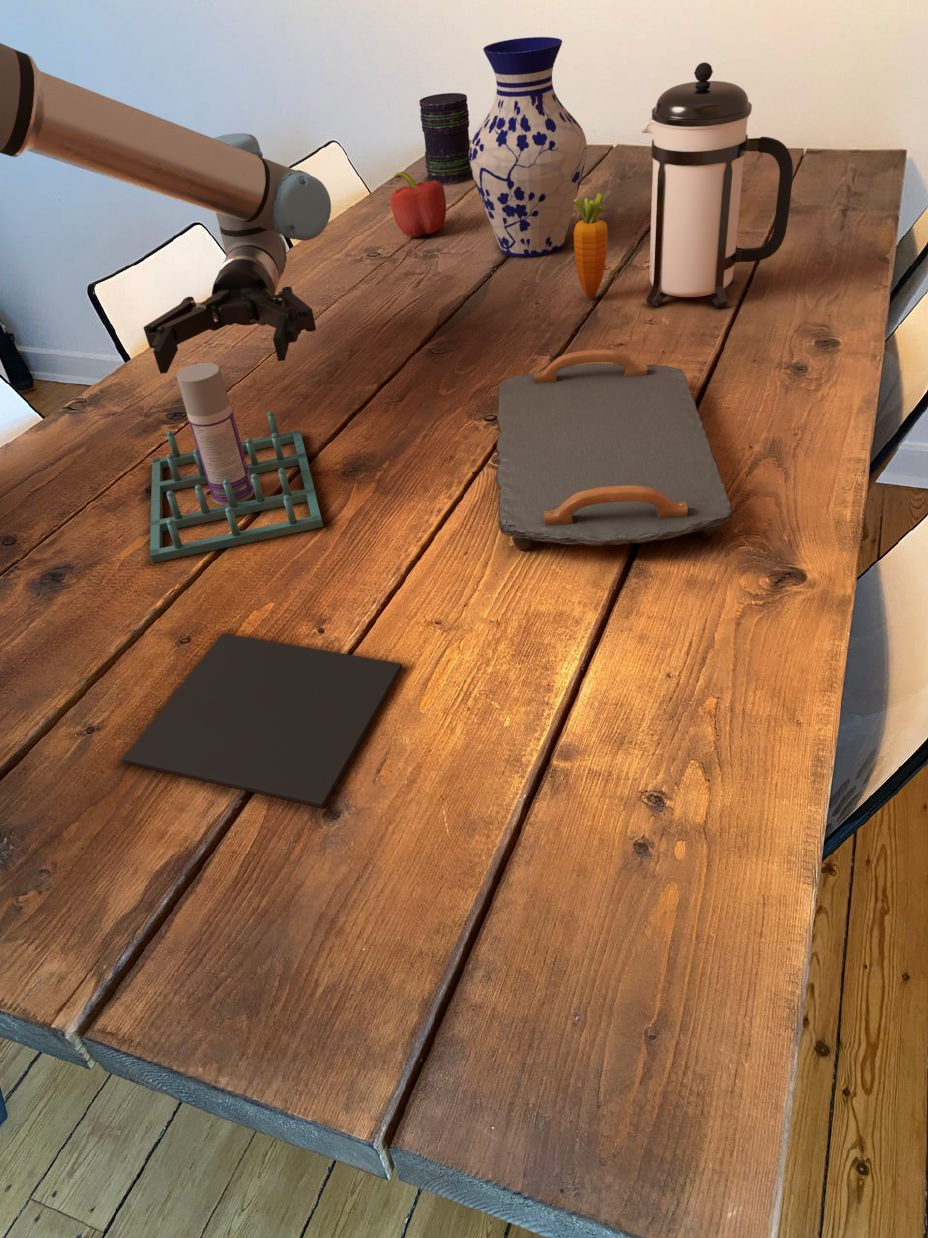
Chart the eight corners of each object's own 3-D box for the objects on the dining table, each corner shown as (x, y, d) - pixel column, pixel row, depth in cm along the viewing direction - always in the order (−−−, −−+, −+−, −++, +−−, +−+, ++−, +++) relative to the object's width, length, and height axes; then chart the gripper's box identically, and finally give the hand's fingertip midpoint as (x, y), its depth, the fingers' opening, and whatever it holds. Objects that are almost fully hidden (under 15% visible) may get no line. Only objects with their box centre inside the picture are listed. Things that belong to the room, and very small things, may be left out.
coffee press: (680, 324, 132) (693, 81, 113) (619, 290, 143) (622, 64, 124) (782, 295, 136) (811, 57, 117) (715, 264, 148) (732, 43, 129)
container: (222, 483, 110) (186, 361, 100) (260, 484, 109) (227, 361, 99) (206, 505, 106) (167, 381, 97) (244, 506, 105) (209, 381, 96)
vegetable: (380, 235, 174) (372, 178, 168) (423, 220, 179) (416, 163, 173) (419, 246, 167) (411, 186, 161) (461, 229, 172) (456, 171, 166)
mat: (124, 763, 76) (122, 759, 76) (224, 637, 88) (222, 633, 88) (323, 808, 71) (322, 804, 71) (402, 667, 82) (401, 663, 82)
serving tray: (740, 557, 90) (747, 502, 86) (497, 572, 92) (492, 518, 88) (679, 377, 120) (682, 330, 116) (496, 390, 121) (493, 344, 117)
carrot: (568, 302, 142) (565, 197, 132) (584, 291, 145) (583, 187, 135) (597, 307, 139) (597, 200, 130) (613, 295, 142) (614, 190, 133)
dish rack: (152, 563, 98) (139, 528, 96) (154, 466, 114) (143, 434, 112) (323, 526, 101) (315, 491, 98) (301, 437, 117) (294, 404, 114)
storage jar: (463, 184, 195) (456, 103, 185) (420, 184, 198) (411, 104, 188) (480, 170, 202) (474, 92, 192) (437, 170, 205) (430, 93, 195)
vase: (531, 221, 173) (522, 29, 154) (610, 239, 161) (612, 35, 142) (454, 252, 164) (434, 53, 144) (532, 274, 152) (523, 61, 133)
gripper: (346, 304, 125) (334, 375, 109) (160, 324, 126) (121, 397, 110) (335, 247, 120) (322, 311, 104) (142, 268, 121) (99, 335, 105)
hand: (219, 356), depth 107 cm, fingers open, 13 cm apart
